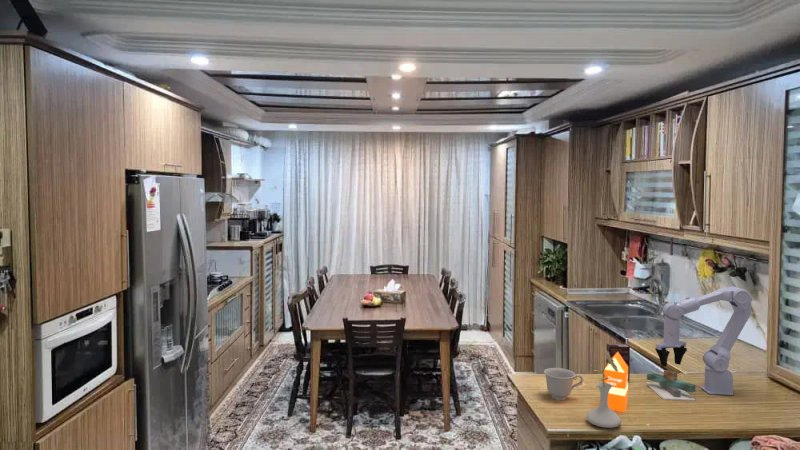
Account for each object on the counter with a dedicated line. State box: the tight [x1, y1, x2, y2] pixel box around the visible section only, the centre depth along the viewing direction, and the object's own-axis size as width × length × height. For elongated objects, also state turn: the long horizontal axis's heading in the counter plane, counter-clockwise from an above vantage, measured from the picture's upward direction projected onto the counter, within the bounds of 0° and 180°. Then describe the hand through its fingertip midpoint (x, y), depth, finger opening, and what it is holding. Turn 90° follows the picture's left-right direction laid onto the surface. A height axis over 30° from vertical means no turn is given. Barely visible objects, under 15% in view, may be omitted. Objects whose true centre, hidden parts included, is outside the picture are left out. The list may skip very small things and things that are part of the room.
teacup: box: [543, 367, 584, 401], centre depth 198 cm, size 12×15×10 cm
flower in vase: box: [585, 350, 622, 429], centre depth 175 cm, size 13×11×25 cm
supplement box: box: [605, 343, 631, 384], centre depth 218 cm, size 9×5×16 cm, turn 84°
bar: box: [646, 369, 696, 393], centre depth 205 cm, size 18×3×6 cm, turn 34°
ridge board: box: [645, 381, 697, 402], centre depth 206 cm, size 12×18×3 cm, turn 175°
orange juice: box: [603, 352, 629, 413], centre depth 191 cm, size 8×9×20 cm
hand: (670, 364), depth 209 cm, fingers open, 7 cm apart
